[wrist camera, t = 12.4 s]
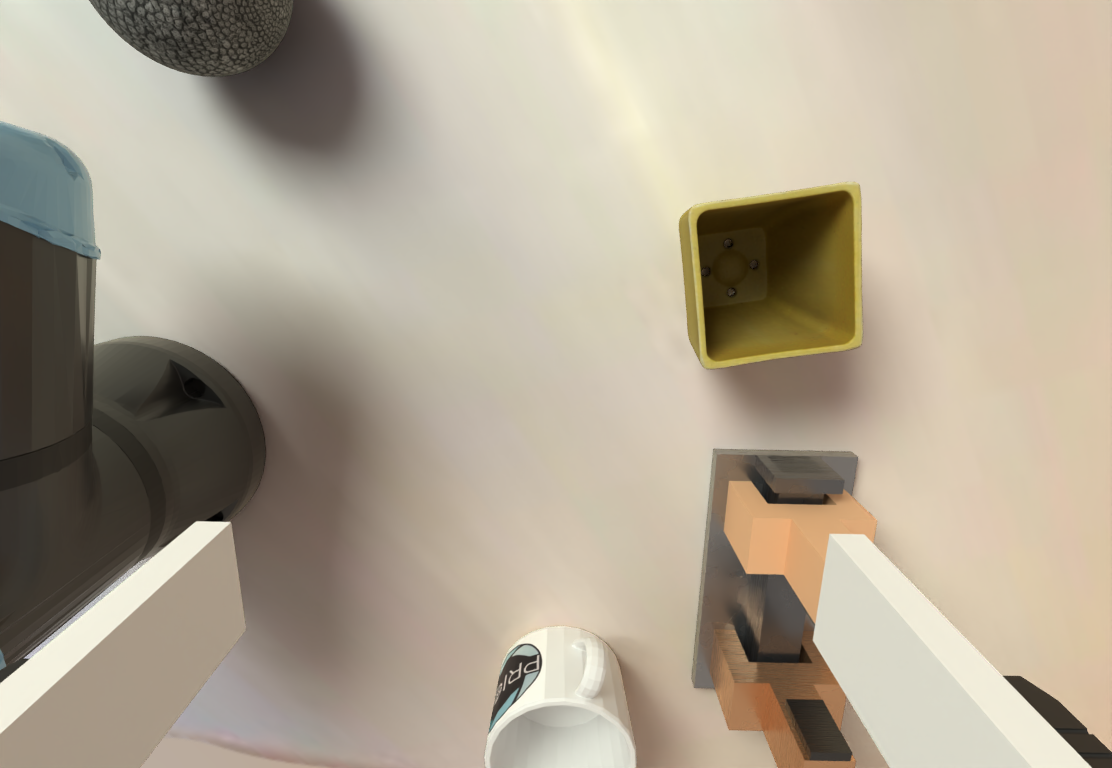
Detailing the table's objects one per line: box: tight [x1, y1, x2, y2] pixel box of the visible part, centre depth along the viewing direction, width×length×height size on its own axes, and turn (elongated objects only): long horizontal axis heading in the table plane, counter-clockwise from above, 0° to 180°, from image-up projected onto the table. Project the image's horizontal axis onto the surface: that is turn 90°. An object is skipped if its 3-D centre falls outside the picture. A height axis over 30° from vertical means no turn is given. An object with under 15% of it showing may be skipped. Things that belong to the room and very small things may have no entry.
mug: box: [484, 626, 637, 768], centre depth 44 cm, size 13×10×8 cm
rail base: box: [692, 449, 858, 768], centre depth 40 cm, size 10×20×12 cm, turn 179°
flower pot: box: [679, 182, 863, 369], centre depth 35 cm, size 9×9×9 cm
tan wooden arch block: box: [724, 481, 877, 626], centre depth 38 cm, size 8×5×12 cm, turn 89°
